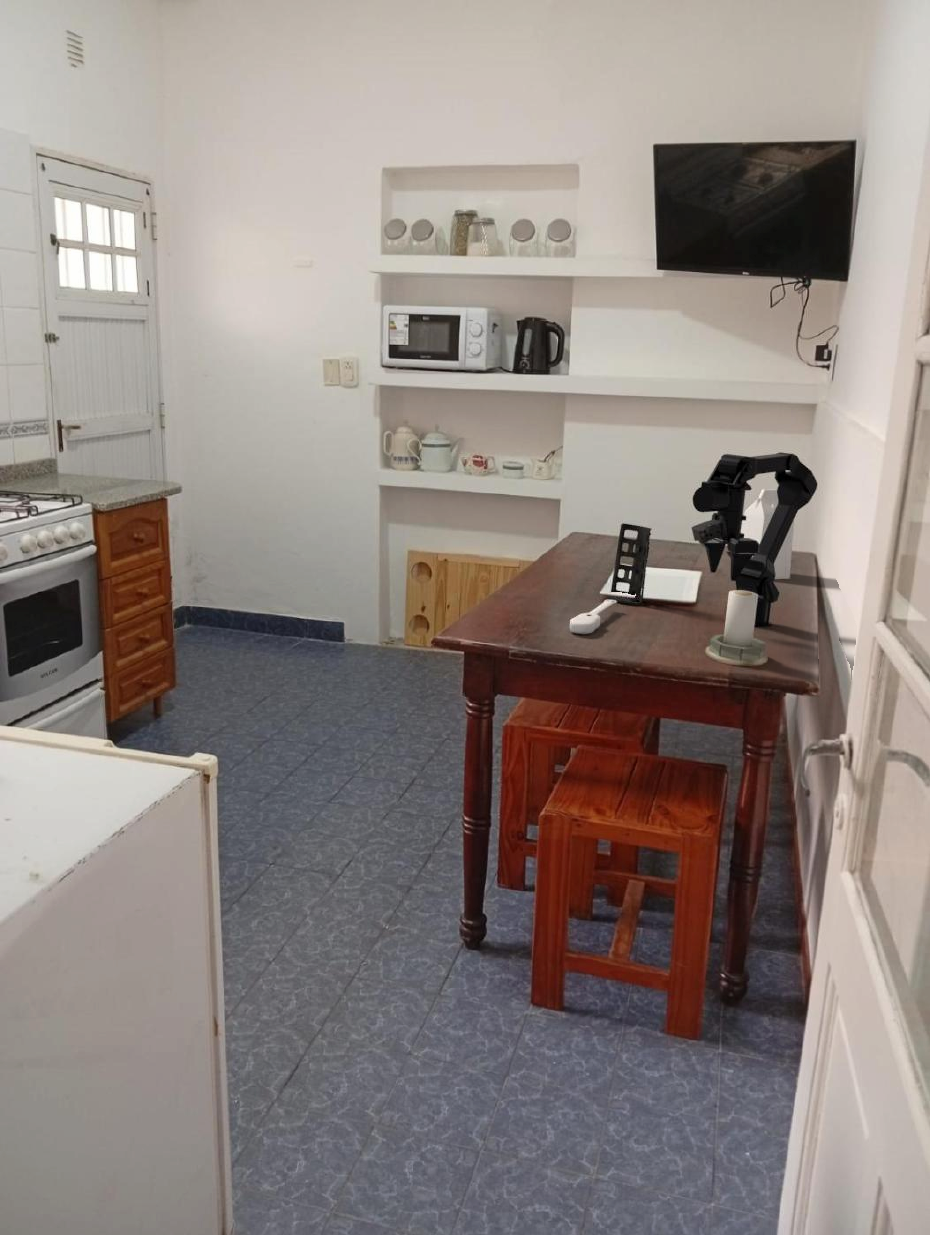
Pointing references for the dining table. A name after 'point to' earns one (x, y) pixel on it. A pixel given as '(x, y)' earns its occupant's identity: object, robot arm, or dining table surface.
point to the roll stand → (736, 652)
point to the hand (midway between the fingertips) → (722, 576)
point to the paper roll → (740, 618)
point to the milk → (758, 523)
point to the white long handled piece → (589, 619)
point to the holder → (638, 563)
